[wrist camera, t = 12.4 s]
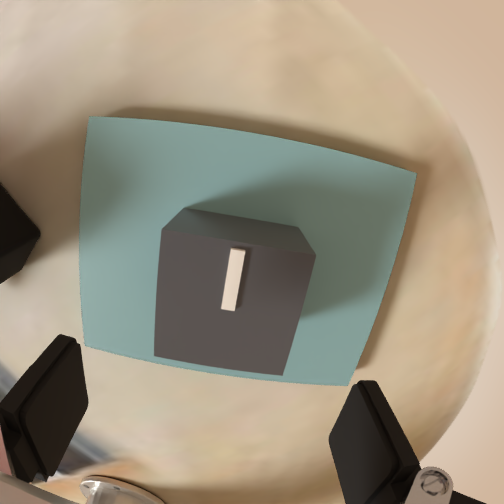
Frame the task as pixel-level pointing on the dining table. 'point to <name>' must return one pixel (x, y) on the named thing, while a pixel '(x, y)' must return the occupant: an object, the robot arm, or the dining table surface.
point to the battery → (14, 236)
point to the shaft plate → (242, 205)
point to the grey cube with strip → (230, 291)
